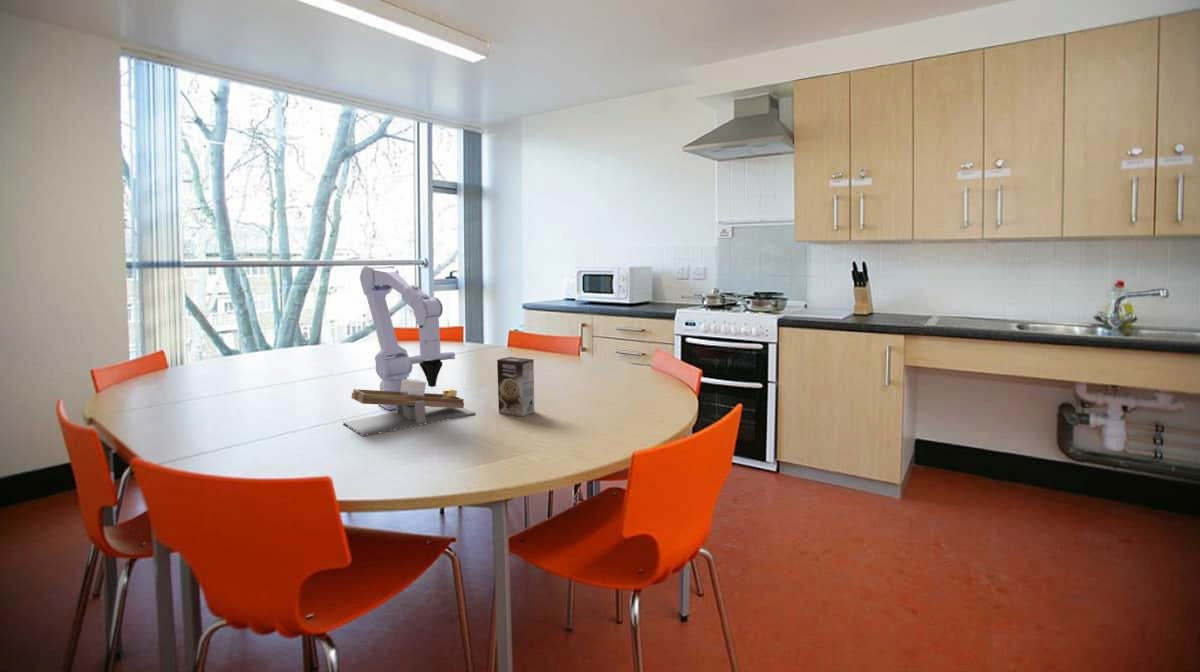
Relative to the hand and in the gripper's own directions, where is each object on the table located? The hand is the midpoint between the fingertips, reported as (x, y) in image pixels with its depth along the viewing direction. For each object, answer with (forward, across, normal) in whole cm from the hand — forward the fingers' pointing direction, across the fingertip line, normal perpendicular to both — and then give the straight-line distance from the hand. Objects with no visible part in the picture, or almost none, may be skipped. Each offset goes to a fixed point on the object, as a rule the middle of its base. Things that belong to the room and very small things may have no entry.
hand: (432, 386), depth 188 cm
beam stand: (+9, -7, 0) cm, 11 cm away
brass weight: (+5, +5, 0) cm, 7 cm away
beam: (+3, -7, 0) cm, 8 cm away
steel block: (+3, -6, 0) cm, 7 cm away
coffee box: (+9, +20, -14) cm, 26 cm away
